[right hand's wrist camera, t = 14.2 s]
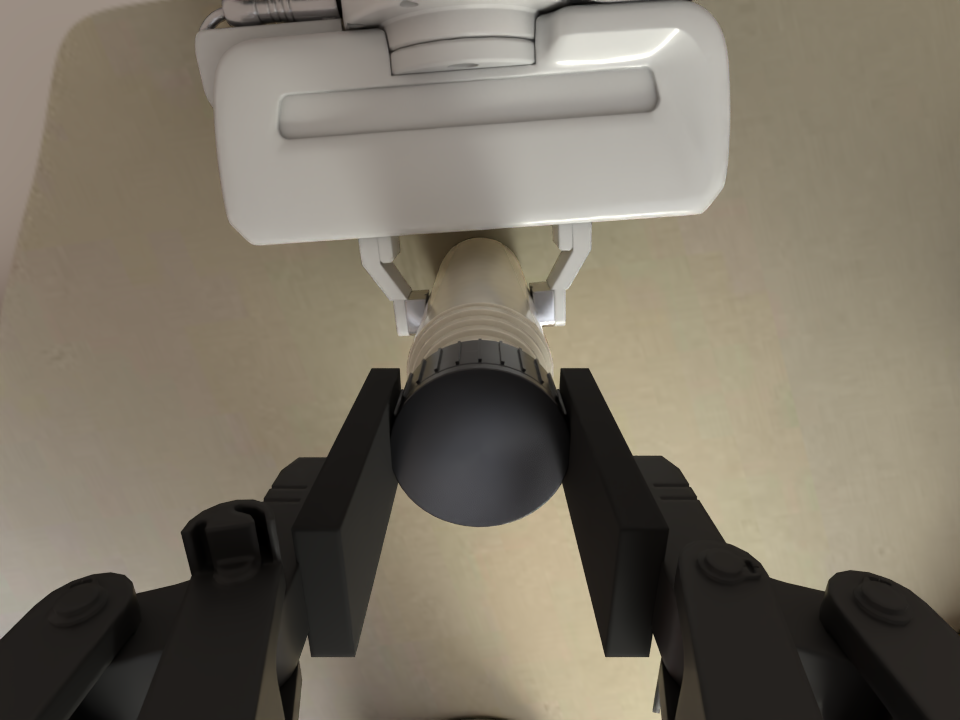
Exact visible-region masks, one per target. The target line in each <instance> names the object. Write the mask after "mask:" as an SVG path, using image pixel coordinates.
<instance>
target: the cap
mask: <svg viewBox="0 0 960 720" xmlns="http://www.w3.org/2000/svg"><path fill="white" fill-rule="evenodd" d="M567 416H568V415H567V412H566V409H565V406H564V403H563V400H562V397H561V394H560V391H559V389H556V387H555V385H554V381H553V378H552V375H551V373H550V372H549V373H548V372H547V371H546V370H545V369H544V368H543V366H542V365H541V364H540V363H539V360H538V359H537V358H536V359H534V358H533V357H531V356H530V355H529V354H527V353H526V352H524V351H522V348H520V347H519V348H516V347H514V346H511V345H508V344H506V343H503V341H499V342H497V341H490V340H482V339H478V340H470V341H463V342H461V341H458V343H455V344H452V345H449V346H447V347H444V348H439V349H438V351H437V352H435V353H433V354H432V355H430V356H429V357H428V358H426V359H422V361H421V364H420V365H419V366H418V367H417V368H416V369H415V371H414V372H413V373H410V374H409V376H408V379H407V382H406V385H405V388H404V390H403V389H401V392H400V395H399V398H398V401H397V404H396V407H395V410H394V413H393V417H395V418H394V421H393V424H392V427H391V432H390V449H391V463H392V470H393V472H394V475H395V477H396V479H397V481H398V483H399V484H400V486H401V488H402V489H403V490H404V492H405V493H406V494H407V495H408V497H409V498H410V499H411V500H412V501H413V502H414V503H415V504H417V505H418V506H419V507H421V508H422V509H423V510H425V511H426V512H428V513H430V514H431V515H433V516H435V517H437V518H440V519H442V520H444V521H447V522H450V523H454V524H458V525H463V526H472V527H490V526H497V525H502V524H506V523H510V522H513V521H516V520H519V519H521V518H523V517H525V516H527V515H529V514H531V513H533V512H534V511H536V510H537V509H539V508H540V507H541V506H542V505H544V504H545V503H546V502H547V501H548V500H549V499H550V498H551V497H552V496H553V495H554V494H555V492H556V491H557V489H558V488H559V487H560V485H561V483H562V482H563V480H564V478H565V476H566V473H567V470H568V467H569V454H570V439H571V434H570V431H569V427H568V423H567V420H566V417H567Z"/></svg>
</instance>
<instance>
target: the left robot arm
mask: <svg viewBox="0 0 960 720" xmlns="http://www.w3.org/2000/svg"><path fill="white" fill-rule="evenodd" d="M692 1H693V0H222V8H219V9H217V10H215V11H213V12H212V13H211V14H209V15H208V16H207V17H206V19H205V20H204V21H203V23H202V25H201V27H200V29H199V32H198V33H197V34H196V38H195V53H196V58H197V62H198V67H199V71H200V75H201V80H202V84H203V89H204V92H205V94H206V97H207V99H208V101H209V103H210V104H211V106H212V108H213V109H214V126H215V139H216V150H217V159H218V168H219V175H220V182H221V188H222V194H223V200H224V206H225V210H226V215H227V218H228V221H229V222H230V224H231V225H232V226H233V227H234V228H235V229H236V230H237V231H238V232H239V233H240V234H241V235H242V236H243V237H244V238H245V239H246V240H247V241H248V242H249V243H251V244H253V245H273V244H288V243H302V242H316V241H330V240H344V239H358V241H359V248H360V254H361V261H362V266H363V267H364V268H365V269H366V271H367V272H368V273H369V275H370V276H371V277H372V278H373V280H374V281H375V282H376V283H377V285H378V286H379V287H380V289H381V290H382V291H383V292H384V294H385V295H386V296H387V298H388V299H389V300H390V301H393V305H394V312H395V320H396V327H397V333H398V335H399V336H410V335H416V333H417V330H418V327H419V324H420V321H421V319H422V316H423V313H424V310H425V307H426V305H427V302H428V299H429V296H430V294H429V290H413V291H412V289H411V287H410V286H409V285H408V283H407V282H406V280H405V279H404V278H403V276H402V275H401V273H400V272H399V270H398V269H397V268H396V266H395V265H394V263H393V262H392V261H393V260H394V259H395V257H396V256H397V255H398V254H399V253H400V244H399V236H401V235H416V234H430V233H444V232H458V231H473V230H487V229H501V228H515V227H529V226H544V225H552V233H553V242H554V243H555V244H556V245H557V247H558V248H559V249H560V250H561V253H560V255H559V257H558V259H557V261H556V263H555V264H554V266H553V268H552V270H551V272H550V274H549V276H548V278H547V280H546V282H535V283H529V291H530V294H531V297H532V300H533V303H534V305H535V308H536V311H537V314H538V317H539V320H540V322H541V325H542V327H552V326H565V322H566V289H569V287H570V285H571V284H572V282H573V280H574V278H575V277H576V275H577V273H578V272H579V270H580V268H581V266H582V265H583V263H584V261H585V260H586V258H587V256H588V254H589V253H590V251H591V231H592V222H601V221H615V220H629V219H643V218H658V217H672V216H685V215H698V214H701V213H703V212H704V211H705V210H706V209H707V208H708V207H709V206H710V205H711V204H712V202H713V201H714V200H715V198H716V197H717V196H718V194H719V193H720V192H721V190H722V189H723V187H724V184H725V181H726V175H727V168H728V156H729V140H730V75H729V58H728V51H727V46H726V41H725V38H724V35H723V32H722V29H721V27H720V25H719V23H718V22H717V20H716V19H715V18H714V16H713V15H712V14H711V13H710V12H709V11H708V10H707V9H705V8H704V7H702V6H701V5H699V4H697V3H694V2H692ZM225 20H226V21H227V23H228V24H229V25H230V26H232V27H230V28H218V29H215V27H216V26H217V25H218V24H220V23H221V22H223V21H225ZM275 23H279V24H275ZM266 24H267V25H266Z"/></svg>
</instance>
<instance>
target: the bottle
mask: <svg viewBox="0 0 960 720" xmlns="http://www.w3.org/2000/svg"><path fill="white" fill-rule="evenodd" d="M478 339H482V340H490V341H497V342H499V341H503V343H506V344H508V345H511V346H514V347H516V348H519V347H520V348H522V351H524V352H526V353H527V354H529V355H530V356H531V357H533V358H534V359H536V358H537V359H538V360H539V363H540V364H541V365H542V366H543V368H544V369H545V370H546V371H547V372H548V373H549V372H550V373H551V375H552V378H553V369H554V367H553V358H552V355H551V351H550V348H549V345H548V342H547V339H546V336H545V334H544V331H543V328H542V325H541V322H540V320H539V317H538V314H537V311H536V308H535V305H534V303H533V300H532V297H531V294H530V291H529V289H528V286H527V283H526V280H525V277H524V274H523V272H522V269H521V266H520V264H519V261H518V259H517V258H516V256H515V255H514V253H513V252H512V251H511V250H510V249H509V248H508V247H506V246H505V245H504V244H502V243H500V242H498V241H496V240H493V239H489V238H472V239H468V240H465V241H463V242H460V243H459V244H457V245H455V246H454V247H453V248H452V249H451V250H450V251H449V252H448V253H447V254H446V256H445V257H444V259H443V261H442V263H441V265H440V268H439V271H438V274H437V277H436V279H435V282H434V285H433V288H432V291H431V293H430V296H429V299H428V302H427V305H426V307H425V310H424V313H423V316H422V319H421V321H420V324H419V327H418V330H417V333H416V335H415V338H414V341H413V344H412V347H411V349H410V352H409V356H408V361H407V379H408V376H409V374H410V373H413V372H414V371H415V369H416V368H417V367H418V366H419V365H420V364H421V361H422V359H426V358H428V357H429V356H430V355H432V354H433V353H435V352H437V351H438V349H439V348H444V347H447V346H449V345H452V344H455V343H458V341H461V342H463V341H470V340H478Z"/></svg>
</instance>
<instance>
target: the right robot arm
mask: <svg viewBox="0 0 960 720" xmlns="http://www.w3.org/2000/svg"><path fill="white" fill-rule="evenodd" d="M559 391H560V394H561V397H562V400H563V403H564V406H565V409H566V412H567V415H568V416H567V417H566V420H567V423H568V427H569V431H570V434H571V439H570V454H569V467H568V470H567V473H566V476H565V478H564V480H563V482H562V484H563V488H564V492H565V496H566V500H567V504H568V508H569V512H570V516H571V520H572V524H573V529H574V533H575V537H576V541H577V545H578V549H579V553H580V557H581V561H582V565H583V569H584V573H585V577H586V581H587V585H588V589H589V593H590V597H591V601H592V605H593V609H594V613H595V617H596V621H597V625H598V629H599V633H600V637H601V641H602V645H603V650H604V654H605V657H649V654H650V648H651V641H652V635H654V637H655V640H656V643H657V646H658V648H659V651H660V654H661V663H660V669H659V675H658V681H657V686H656V692H655V698H654V705H653V712H655V713H660V707H661V716H662V720H960V636H959V635H958V634H957V633H956V632H955V631H954V630H953V629H952V628H951V627H950V626H949V625H948V624H947V623H946V622H945V621H944V620H943V619H942V618H941V617H940V616H939V615H938V614H937V613H936V612H935V611H934V610H933V609H932V608H931V607H930V606H929V605H928V604H927V603H926V602H924V601H923V600H922V599H921V598H919V597H918V596H917V595H916V594H914V593H913V592H912V591H910V590H909V589H907V588H905V587H903V586H901V585H900V584H898V583H896V582H894V581H892V580H890V579H888V578H885V577H882V576H878V575H875V574H872V573H869V572H862V571H853V570H849V571H844V572H838V573H836V574H835V575H834V576H833V577H831V578H830V579H829V581H828V584H827V587H826V591H825V592H824V591H820V590H816V589H811V588H807V587H803V586H798V585H794V584H790V583H785V582H782V581H779V580H776V579H772V578H770V577H769V575H768V574H767V572H766V571H765V569H764V568H763V566H762V565H761V563H760V562H759V561H757V560H756V559H755V558H754V557H752V556H751V555H750V554H749V553H748V552H746V551H744V550H742V549H739V548H737V547H735V546H733V545H731V544H727V543H726V542H725V540H724V539H723V537H722V536H721V534H720V533H719V531H718V529H717V528H716V526H715V525H714V523H713V521H712V520H711V518H710V517H709V515H708V513H707V512H706V510H705V509H704V507H703V506H702V504H701V502H700V501H699V500H697V496H696V494H695V493H694V491H693V490H692V488H691V487H689V483H688V482H687V480H686V479H685V477H684V475H683V474H682V472H681V471H680V469H679V468H678V467H676V466H675V465H673V464H672V463H671V462H669V461H668V460H667V459H665V458H664V457H663V456H633V455H632V453H631V451H630V449H629V447H628V445H627V443H626V441H625V439H624V437H623V435H622V433H621V431H620V430H619V428H618V426H617V424H616V422H615V420H614V418H613V416H612V414H611V412H610V410H609V408H608V406H607V404H606V402H605V400H604V398H603V396H602V394H601V392H600V390H599V388H598V386H597V384H596V382H595V380H594V378H593V376H592V374H591V372H590V370H589V368H561V371H560V388H559ZM400 392H401V382H400V368H372V369H371V371H370V373H369V375H368V377H367V379H366V381H365V383H364V385H363V387H362V388H361V390H360V392H359V394H358V396H357V398H356V400H355V402H354V404H353V406H352V408H351V410H350V412H349V414H348V416H347V418H346V420H345V422H344V424H343V426H342V428H341V430H340V432H339V434H338V436H337V438H336V440H335V442H334V444H333V446H332V448H331V450H330V452H329V454H328V456H327V457H299V458H297V459H296V460H295V461H293V462H292V463H291V464H289V465H288V466H287V467H285V468H284V469H283V470H281V472H280V473H279V475H278V477H277V478H276V480H275V481H274V483H273V485H272V489H269V491H268V493H267V494H266V496H265V497H264V501H263V502H260V501H256V500H234V501H230V502H225V503H221V504H218V505H216V506H213V507H211V508H209V509H207V510H204V511H202V512H201V513H200V514H198V515H197V516H195V517H194V518H193V519H191V520H190V521H189V522H188V523H187V525H186V526H185V527H184V529H183V530H182V531H181V535H182V539H183V543H184V547H185V551H186V555H187V559H188V563H189V567H190V571H191V575H192V576H191V579H190V580H189V581H185V582H182V583H179V584H176V585H172V586H167V587H163V588H159V589H154V590H150V591H146V592H141V593H137V594H136V592H135V589H134V586H133V583H132V581H131V580H129V579H128V578H127V577H126V576H125V575H122V574H117V573H111V572H110V573H101V574H93V575H89V576H86V577H83V578H80V579H77V580H74V581H71V582H70V583H68V584H66V585H64V586H62V587H60V588H58V589H56V590H55V591H53V592H51V593H50V594H49V595H47V596H46V597H45V598H44V599H42V600H41V601H40V602H39V603H37V604H36V605H35V606H34V607H33V608H32V609H31V610H30V611H29V612H28V613H27V614H26V615H25V616H24V617H23V618H22V619H21V620H20V621H19V622H18V623H17V624H16V625H15V626H14V627H13V628H12V629H11V630H10V631H9V632H8V633H7V634H6V635H5V636H3V637H2V638H1V639H0V720H298V717H299V707H300V697H301V686H302V676H301V669H300V663H299V658H300V655H301V652H302V649H303V646H304V644H305V641H306V638H307V635H308V639H309V646H310V652H311V657H355V655H356V651H357V647H358V643H359V639H360V635H361V631H362V627H363V623H364V619H365V615H366V611H367V607H368V602H369V598H370V594H371V590H372V586H373V582H374V578H375V574H376V570H377V566H378V562H379V558H380V554H381V550H382V546H383V542H384V538H385V534H386V530H387V526H388V522H389V518H390V514H391V510H392V506H393V502H394V498H395V494H396V490H397V485H398V481H397V479H396V477H395V475H394V472H393V470H392V463H391V449H390V432H391V427H392V424H393V421H394V418H395V417H393V413H394V410H395V407H396V404H397V401H398V398H399V395H400ZM463 720H493V719H463Z"/></svg>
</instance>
